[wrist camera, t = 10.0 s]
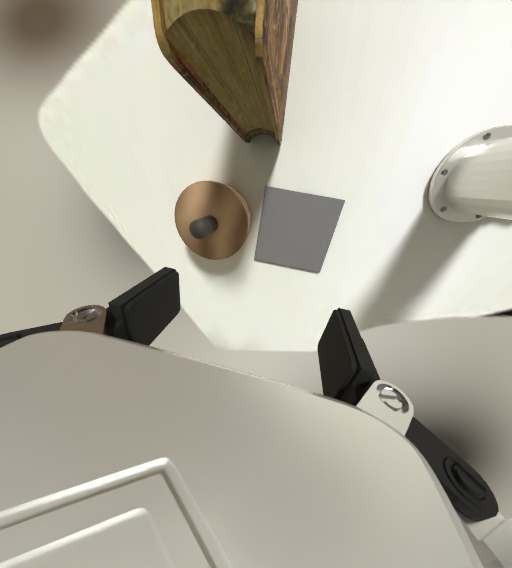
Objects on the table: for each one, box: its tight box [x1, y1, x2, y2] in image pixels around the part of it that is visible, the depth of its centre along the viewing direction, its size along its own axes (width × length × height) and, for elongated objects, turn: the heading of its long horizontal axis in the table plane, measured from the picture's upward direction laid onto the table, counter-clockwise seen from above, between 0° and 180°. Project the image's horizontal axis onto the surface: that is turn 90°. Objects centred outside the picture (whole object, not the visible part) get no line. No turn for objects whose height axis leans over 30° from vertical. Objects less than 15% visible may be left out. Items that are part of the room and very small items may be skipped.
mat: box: [255, 186, 345, 272], centre depth 37 cm, size 14×14×1 cm
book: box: [151, 0, 298, 145], centre depth 17 cm, size 16×6×25 cm, turn 175°
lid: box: [175, 181, 249, 259], centre depth 31 cm, size 13×13×6 cm
